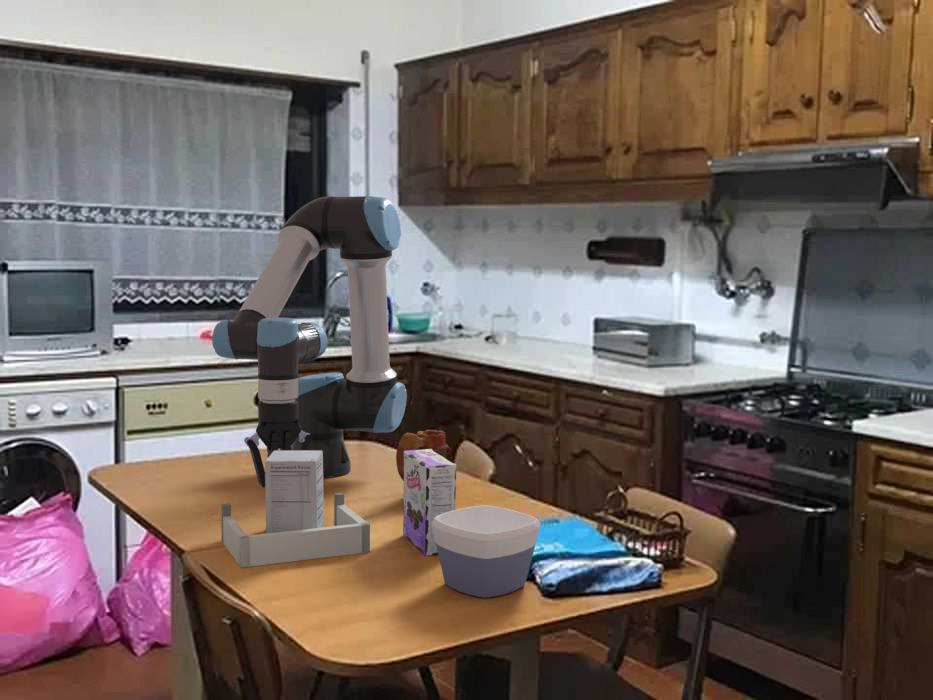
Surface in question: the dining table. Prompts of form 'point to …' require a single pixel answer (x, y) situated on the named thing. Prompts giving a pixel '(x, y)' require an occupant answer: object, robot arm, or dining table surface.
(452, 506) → the candy box
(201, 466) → the dining table surface
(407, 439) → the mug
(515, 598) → the dining table surface
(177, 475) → the dining table surface
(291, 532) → the bay
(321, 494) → the supplement box
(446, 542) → the bowl
